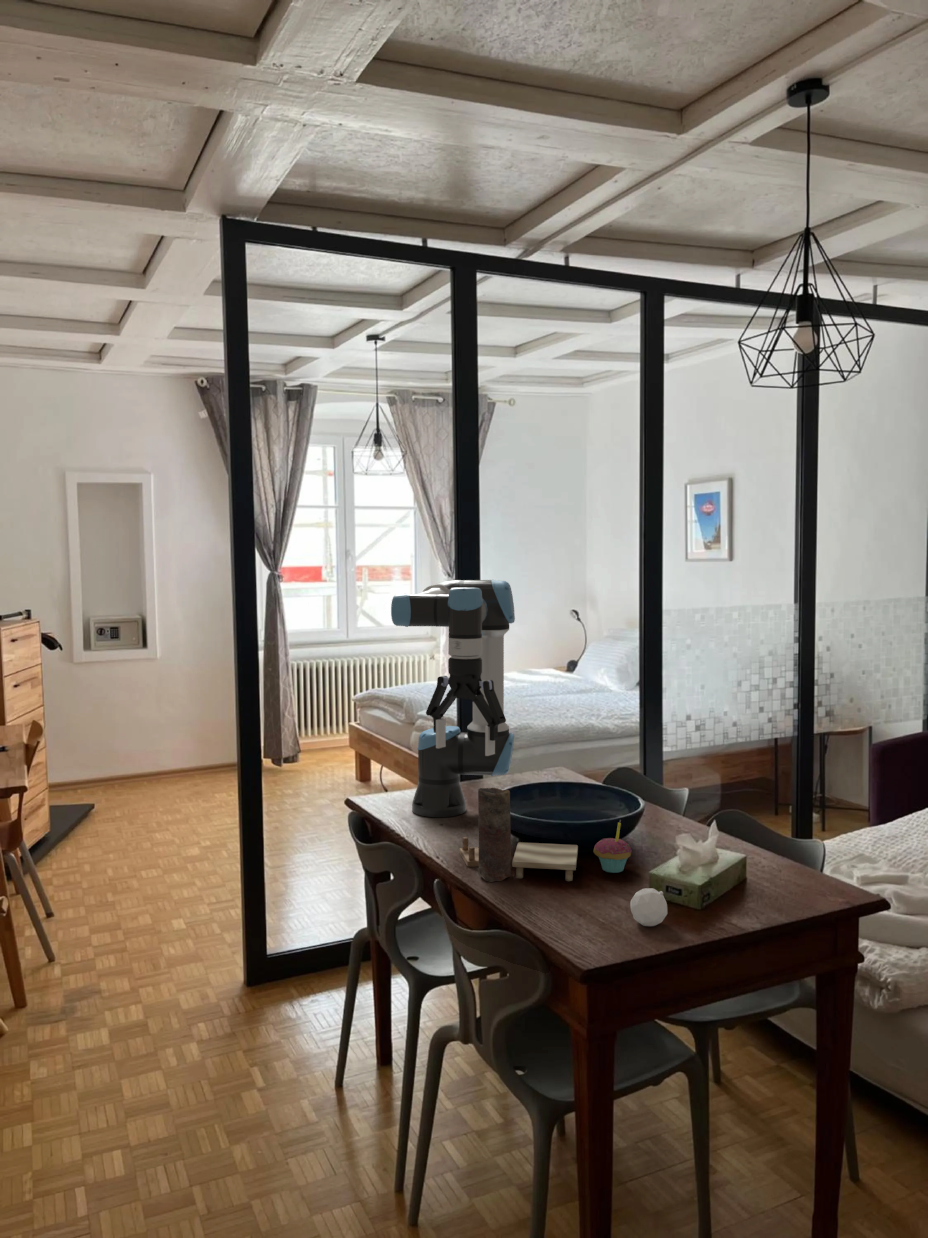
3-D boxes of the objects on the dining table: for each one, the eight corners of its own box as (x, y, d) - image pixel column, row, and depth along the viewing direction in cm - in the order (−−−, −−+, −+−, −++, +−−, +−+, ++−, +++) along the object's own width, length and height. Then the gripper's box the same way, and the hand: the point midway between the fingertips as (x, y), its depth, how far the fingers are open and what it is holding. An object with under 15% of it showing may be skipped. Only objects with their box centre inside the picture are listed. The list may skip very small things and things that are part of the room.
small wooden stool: (518, 858, 224) (518, 842, 223) (577, 862, 222) (577, 845, 221) (512, 879, 210) (512, 861, 210) (575, 882, 208) (575, 865, 207)
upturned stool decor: (459, 853, 228) (459, 837, 228) (499, 850, 230) (499, 834, 230) (467, 866, 218) (467, 849, 218) (509, 864, 220) (509, 847, 220)
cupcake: (638, 869, 217) (639, 818, 216) (617, 878, 210) (618, 825, 209) (607, 860, 222) (607, 810, 222) (585, 869, 216) (586, 818, 215)
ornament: (645, 913, 190) (670, 886, 188) (656, 940, 183) (682, 912, 181) (618, 900, 188) (643, 872, 185) (628, 927, 181) (654, 898, 179)
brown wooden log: (472, 873, 214) (473, 786, 212) (502, 869, 216) (502, 783, 215) (487, 884, 207) (487, 794, 205) (517, 880, 209) (517, 791, 208)
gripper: (410, 654, 214) (411, 747, 216) (502, 662, 200) (502, 761, 201) (431, 652, 221) (431, 741, 222) (521, 658, 206) (521, 755, 207)
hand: (464, 751), depth 212 cm, fingers open, 13 cm apart
